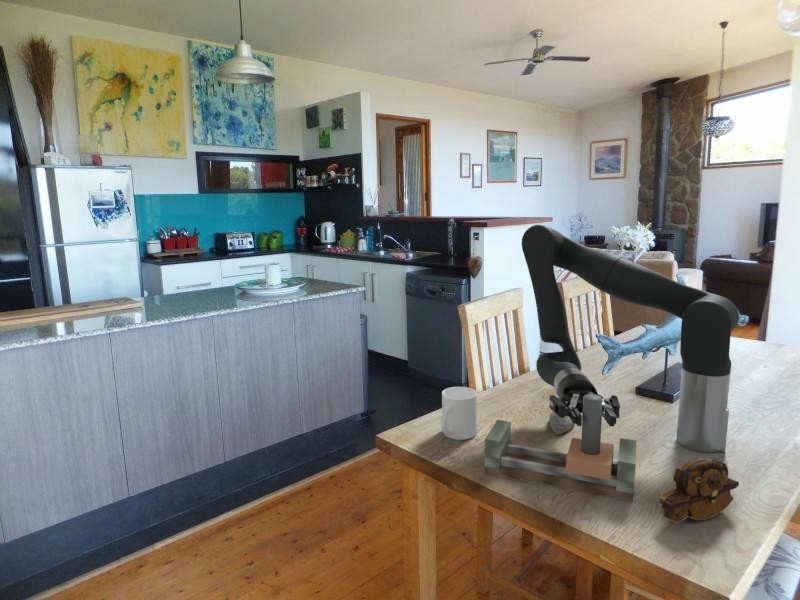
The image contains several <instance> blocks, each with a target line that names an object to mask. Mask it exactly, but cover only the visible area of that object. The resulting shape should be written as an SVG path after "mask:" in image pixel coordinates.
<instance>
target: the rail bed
mask: <svg viewBox="0 0 800 600" xmlns="http://www.w3.org/2000/svg"><path fill="white" fill-rule="evenodd" d="M511 422H512V421H508V420H502V419H501V420H500V419H497V420H495V423H494V424H493V426H492V427H491V429H490V430H489V432H488V433H487V435H486V437H485V438H484V473H485V474H489V475H493V476H499V477H504V478H508V479H515V480H519V481H526V482H530V483H536V484H541V485H545V486H549V487H556V488H561V489H566V490H572V491H576V492H577V491H578V492H582V493H585V494H586V493H587V494H592V495H595V496H596V495H598V496H602V497H607V498H613V499H617V500H623V501H628V502H634V501H635V500H634V496H635V495H634V494H635V483H636V482H635V480H636V467H637V466H636V464H637V463H636V459H637V440H636V439H635V440H634V439H629V438H621V437H620V438H619V445H618V446H619V447H618V457H617V461H613V463H612V471H611V479H610V480H607V479H602V478H596V477H591V476H585V475H580V474H574V473H569V472H566V457H567V454H568V453H565V452H559V451H554V450H546V449H541V448H535V447H529V446H523V445H518V444H513V443H512V442H511V441H512V440H511V439H512V438H511V437H512V436H511V433H512V432H511V431H512V430H511V428H512V425H511V424H512V423H511ZM511 443H512V444H511Z"/></svg>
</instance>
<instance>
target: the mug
mask: <svg viewBox="0 0 800 600" xmlns="http://www.w3.org/2000/svg"><path fill="white" fill-rule="evenodd" d="M441 405H442V406H441V408H442V410H441V413H442V414H441V420H440V421H441V422H440V423H441V425H440V426H441V431H442V433H443V434H444V435H445V436H446V438H448V439H451V440H456V441H467V440H470V439H472V438H474V437H475V436H476V435H477V431H478V392H477V390H475V389H473V388H471V387H467V386H452V387H447V388H445V389H443V390H442V391H441Z"/></svg>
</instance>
